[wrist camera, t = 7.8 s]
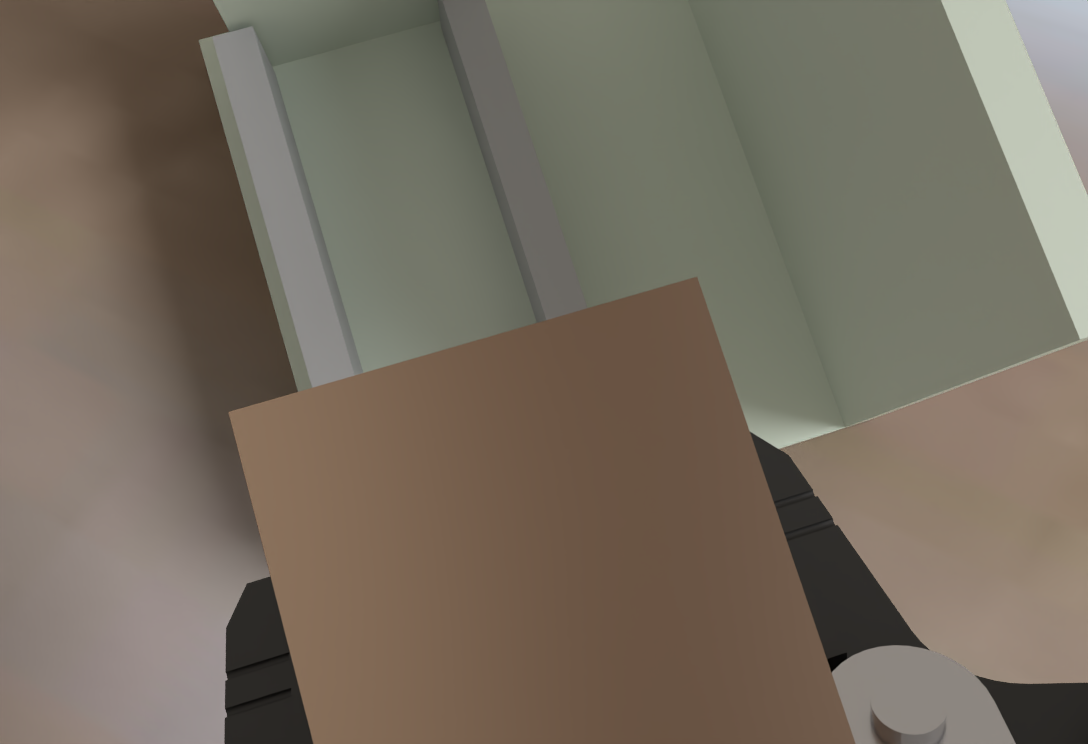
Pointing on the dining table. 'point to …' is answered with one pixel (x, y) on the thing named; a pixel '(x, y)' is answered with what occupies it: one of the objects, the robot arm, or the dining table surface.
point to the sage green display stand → (661, 184)
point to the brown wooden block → (539, 544)
